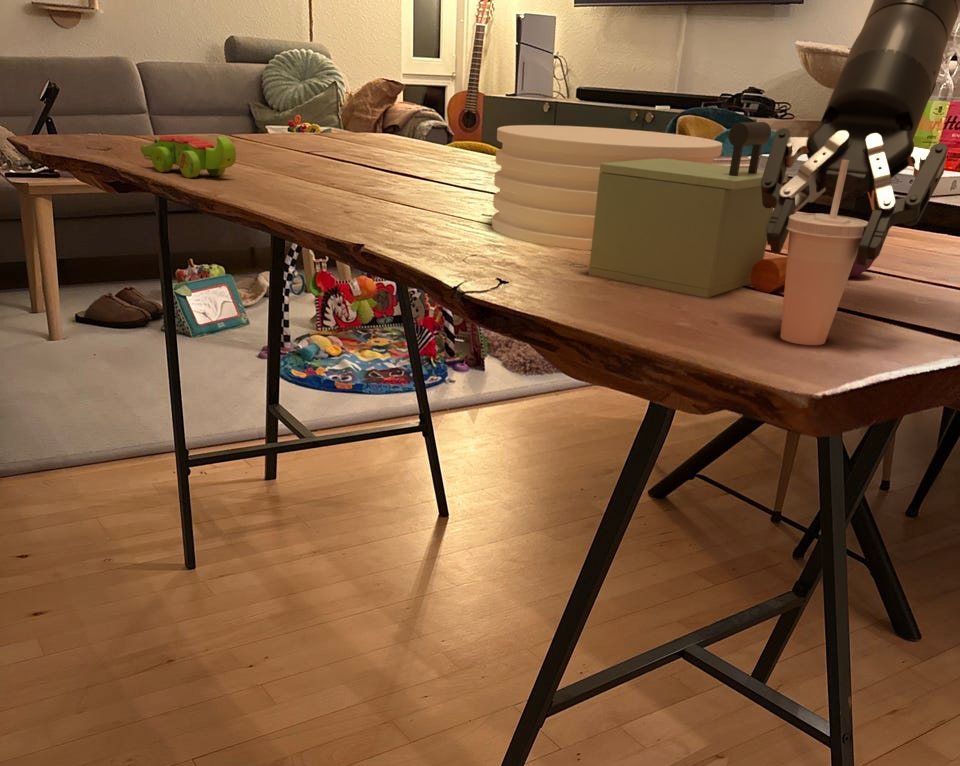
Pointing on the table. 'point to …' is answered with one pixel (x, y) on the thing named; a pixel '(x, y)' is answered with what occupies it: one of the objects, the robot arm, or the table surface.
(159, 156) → the toy crocodile
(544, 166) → the plate stack
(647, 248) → the compartment
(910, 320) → the table surface
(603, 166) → the compartment lid
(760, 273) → the kendama
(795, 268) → the smoothie
